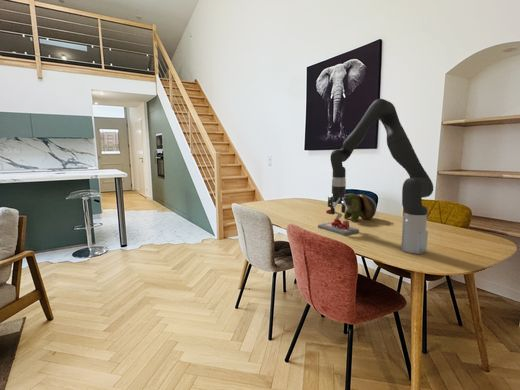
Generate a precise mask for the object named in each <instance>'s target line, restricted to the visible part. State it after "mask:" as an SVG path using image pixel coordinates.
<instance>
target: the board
mask: <svg viewBox="0 0 520 390" xmlns="http://www.w3.org/2000/svg"><path fill="white" fill-rule="evenodd" d="M317 228H319V229H322V230H325V231H328V232H331V233H335V234H337V235H340V236H347V235H353V234H356V233H359V232H360V229H359V228H355V227H351V226H349V229H343V228H339V227H338V228H337V227H334V226H332V222H331V221H330V222H327V223H322V224H318V225H317Z"/></svg>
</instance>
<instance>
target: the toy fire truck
mask: <svg viewBox="0 0 520 390" xmlns="http://www.w3.org/2000/svg"><path fill="white" fill-rule="evenodd" d="M326 214H328V215H332V214H331V209H326ZM334 215H336V217H335V218H334V219H333V220H334V221H333V222H332V226H334V227H337V228H338V227H339V228H343V229H349V227H350V222H349V220H346V219H345V220H343V221H341V220H340V219H341V217H343V214H342V212H338V211H336V210H335V214H334Z"/></svg>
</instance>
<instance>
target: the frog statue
mask: <svg viewBox="0 0 520 390" xmlns="http://www.w3.org/2000/svg"><path fill="white" fill-rule="evenodd" d="M345 194H346V195H348V198H349V204H348V205H346V211H345V213H343V214H344V215H343V218H344V220H346V219H349V218H350V221H351V222H352V223H353V222H356V221H357V220H358V219H359V218H363V219H365V220H371V219H372V218H374V216H375V215H376V212H377V203H376V202H375V200H374V199H373V198H371V197H369V196H367V195H366V194H363V193H359V194H355V193H353V192H352V193H351V192H349V193H345ZM346 203H347V201H346Z"/></svg>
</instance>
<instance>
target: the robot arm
mask: <svg viewBox="0 0 520 390" xmlns="http://www.w3.org/2000/svg"><path fill="white" fill-rule="evenodd" d="M376 120H379V121H380V122H381V124H382V125H383V128H384V129H385V132H386V145H387V148H388V150H389V152H390V155H391V157H392V158H393V159H394V160H395V162H396V163H398V165H400V166H401V167H402V168H403V169H404V170H405V171H406V172H407V175H408V176H409V177H408V178H406V179H405V180H404V181H403V184H402V193H401V205H402V207H403V214H402V217H403V218H402V230H401V246H400V247H401V248H400V249H401V250H402V251H403V252H404V253H405V252H406V253H410V254H415V255H421V254H425V253H427V247H428V236H429V230H427V220H428V207H427V206H425V205H423V203H422V198H427V197H430V196H431V195H432V194H433V192H434V184H433V181H432V179H431V178H430V177H429V175H428V173H427V172H426V170H425V167H423V165H422V163H421V161H420V159H419V158H418V155H417V153H416V152H415V149H414V148H413V145H412V142H411V141H410V139H409V137H408V135H407V132H406V131H405V129H404V127H403V125H402V124H401V121H400V119H399V116H398V113H397V110H396V107H395V105H394V103H392V102H390V101H388V100H386V99H385V98H377V99H375V100H373V102H372V103H371V105H370V106H369V107H368V109H367V110H366V111H365V113H364V115H363V116H362V117H361V119H360V121H359V122H358V123H357V125H356V127H355V128H354V129H353V131H352V132H350V134H349V135H347V137H346V138H345V140H344V141H343V143H342V147H341V148H340V149H334V150H332V151H331V153H330V165H331V168H332V180H331V194H332V196H328V197H327V207H329V209H330V210H331V214H330V215H331V216H332V215H336V214H335V211H336V209H335V208H336V206H337V205H338V204H340V205H341V211H340V213H341V214H342V213H343V214H345V212H346V210H347V206H346V205H348V204H349V198H348V195H346V194H347V193H346V192H347V191H346V188H347V181H346V180H347V179H346V173H347V172H346V168H345V166H343V162H346V161H348V159H349V158H350V157H351V155H352V153H353V152H354V150H355V149H356V148H357V147H358V146H359V145H360V144H361V143H362V141H363V140H364V139H365V137H366V134H367V132H368V130H369V128H370V127H371V125H372V124H374V122H375V121H376ZM346 201H347V203H346Z"/></svg>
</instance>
